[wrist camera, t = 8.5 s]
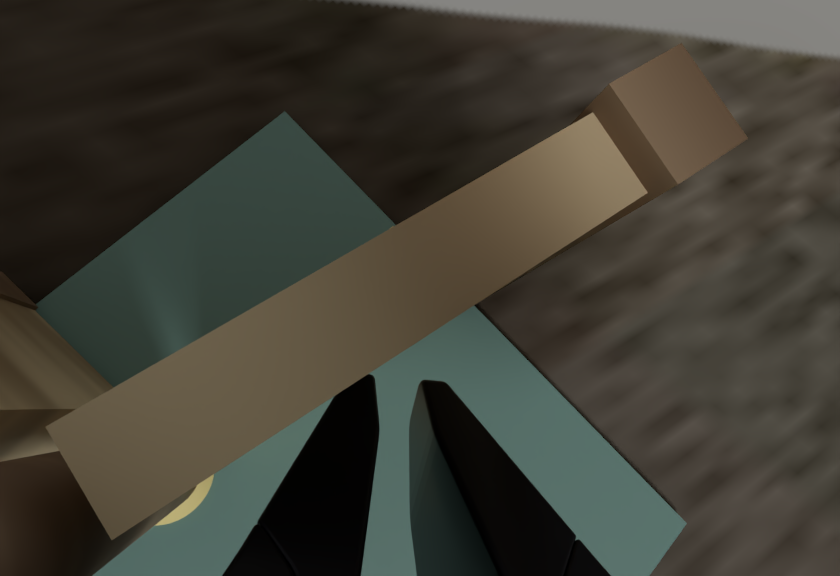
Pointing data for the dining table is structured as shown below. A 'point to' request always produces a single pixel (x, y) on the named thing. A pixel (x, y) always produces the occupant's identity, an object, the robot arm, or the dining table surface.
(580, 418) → the card
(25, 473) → the fence post and fixed rail
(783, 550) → the dining table surface
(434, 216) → the fence panel
